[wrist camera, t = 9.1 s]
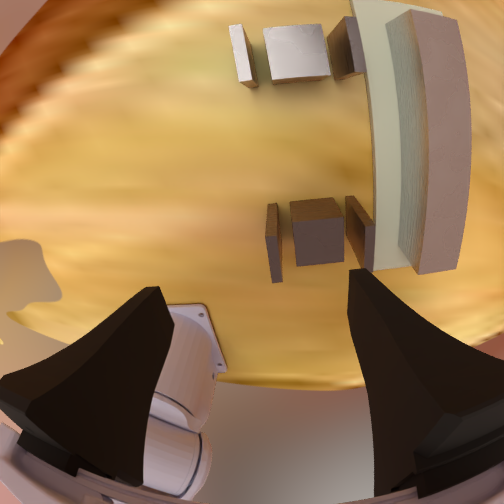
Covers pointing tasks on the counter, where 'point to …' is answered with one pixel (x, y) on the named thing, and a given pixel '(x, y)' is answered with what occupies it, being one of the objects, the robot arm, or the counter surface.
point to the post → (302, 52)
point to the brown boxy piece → (321, 234)
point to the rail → (431, 137)
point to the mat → (383, 124)
